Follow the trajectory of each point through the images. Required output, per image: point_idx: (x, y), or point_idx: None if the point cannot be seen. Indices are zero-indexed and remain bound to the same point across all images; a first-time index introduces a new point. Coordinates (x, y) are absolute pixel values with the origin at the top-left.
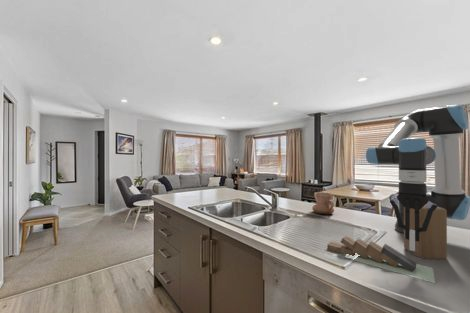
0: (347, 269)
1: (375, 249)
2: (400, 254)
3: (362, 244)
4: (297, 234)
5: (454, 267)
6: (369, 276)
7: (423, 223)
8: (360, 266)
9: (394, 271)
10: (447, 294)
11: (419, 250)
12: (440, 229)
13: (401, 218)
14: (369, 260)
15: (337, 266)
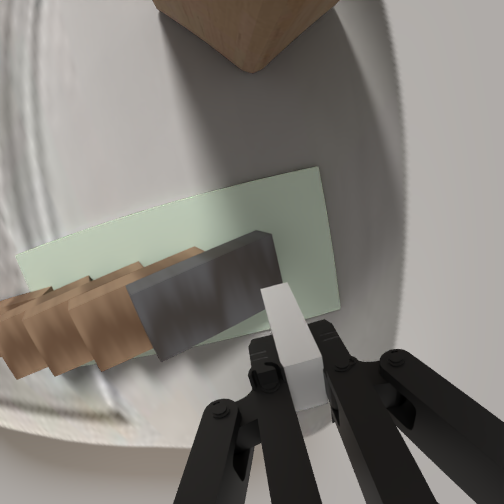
0: (132, 418)
1: (131, 355)
2: (216, 283)
3: (73, 353)
4: None
5: (368, 67)
6: (189, 411)
7: (412, 428)
8: (135, 379)
9: (224, 339)
10: (366, 337)
11: (249, 63)
12: None
13: (227, 466)
14: None
15: (108, 420)
